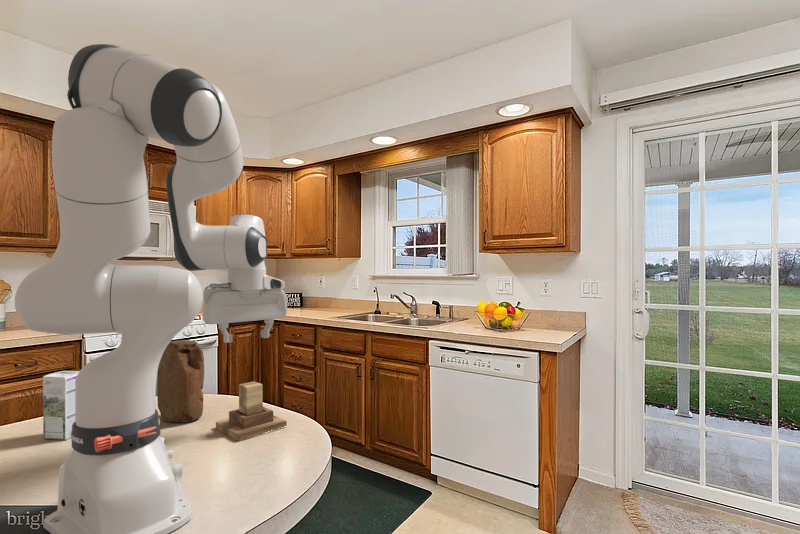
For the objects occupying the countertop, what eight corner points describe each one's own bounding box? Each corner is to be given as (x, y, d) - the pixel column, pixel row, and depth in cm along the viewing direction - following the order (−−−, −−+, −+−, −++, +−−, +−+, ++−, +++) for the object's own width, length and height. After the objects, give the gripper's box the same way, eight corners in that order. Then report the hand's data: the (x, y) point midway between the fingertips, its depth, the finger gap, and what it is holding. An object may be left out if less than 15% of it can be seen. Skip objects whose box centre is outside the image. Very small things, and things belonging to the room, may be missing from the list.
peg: (262, 421, 106) (262, 384, 106) (247, 425, 103) (246, 387, 103) (254, 417, 109) (254, 381, 109) (238, 421, 106) (238, 384, 106)
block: (154, 420, 112) (154, 341, 112) (179, 411, 118) (179, 337, 118) (184, 426, 107) (184, 344, 107) (209, 417, 114) (209, 340, 114)
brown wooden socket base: (286, 427, 106) (286, 410, 106) (239, 441, 98) (239, 423, 98) (261, 415, 115) (261, 400, 115) (215, 428, 106) (215, 411, 106)
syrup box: (86, 431, 104) (86, 370, 104) (64, 441, 98) (64, 376, 98) (64, 430, 105) (64, 369, 105) (41, 440, 99) (41, 375, 99)
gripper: (209, 283, 96) (209, 346, 96) (290, 281, 111) (290, 336, 111) (197, 283, 101) (197, 343, 101) (277, 281, 116) (277, 334, 115)
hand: (247, 339), depth 106 cm, fingers open, 8 cm apart
